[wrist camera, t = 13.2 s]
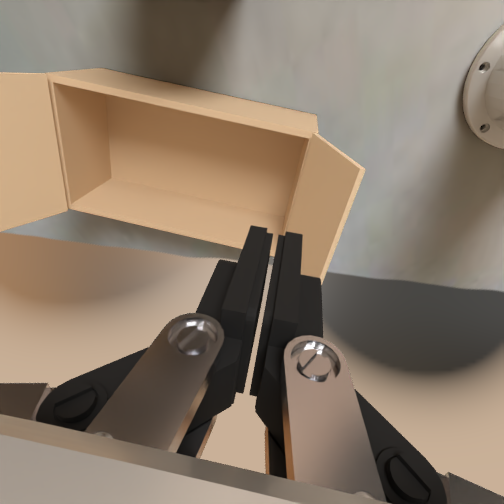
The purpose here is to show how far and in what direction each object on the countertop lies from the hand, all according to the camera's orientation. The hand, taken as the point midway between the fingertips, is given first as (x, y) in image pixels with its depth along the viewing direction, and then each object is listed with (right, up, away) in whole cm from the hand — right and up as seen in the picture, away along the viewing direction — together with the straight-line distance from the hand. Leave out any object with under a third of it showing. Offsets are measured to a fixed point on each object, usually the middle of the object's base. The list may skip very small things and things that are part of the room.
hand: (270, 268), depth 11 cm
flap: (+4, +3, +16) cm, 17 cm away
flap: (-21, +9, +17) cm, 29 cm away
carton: (-6, +13, +28) cm, 31 cm away
